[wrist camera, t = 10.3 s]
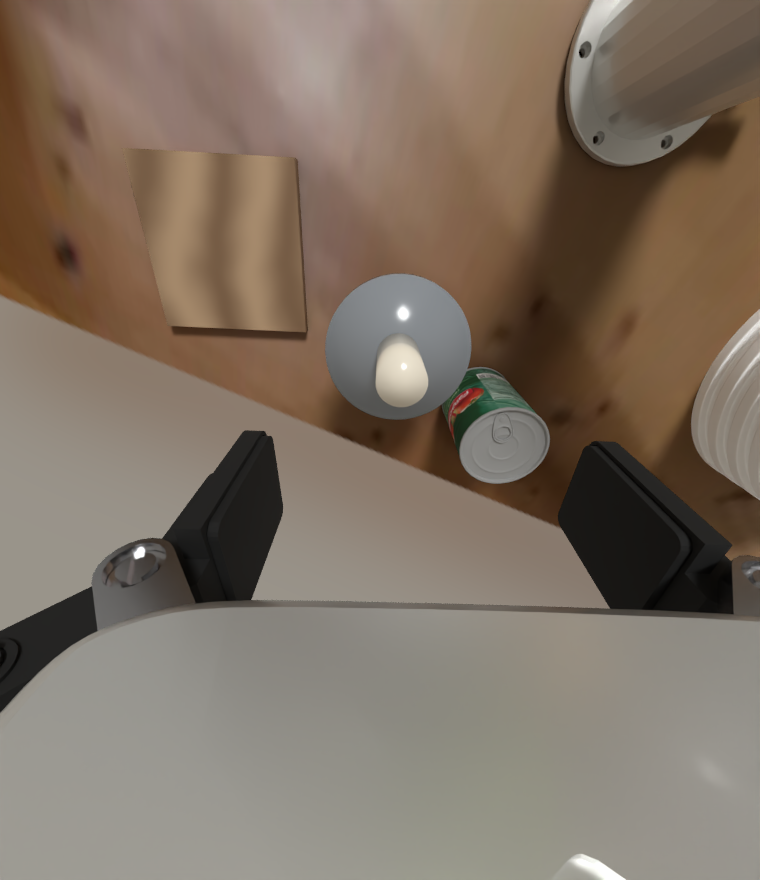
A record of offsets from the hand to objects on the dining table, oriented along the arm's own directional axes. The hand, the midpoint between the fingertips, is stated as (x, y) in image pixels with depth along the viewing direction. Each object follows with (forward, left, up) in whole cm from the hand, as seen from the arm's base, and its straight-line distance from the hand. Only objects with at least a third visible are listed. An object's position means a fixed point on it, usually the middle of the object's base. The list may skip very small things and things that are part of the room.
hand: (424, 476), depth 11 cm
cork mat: (+16, -5, -28) cm, 33 cm away
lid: (0, +1, -18) cm, 18 cm away
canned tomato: (-10, +9, -29) cm, 32 cm away
